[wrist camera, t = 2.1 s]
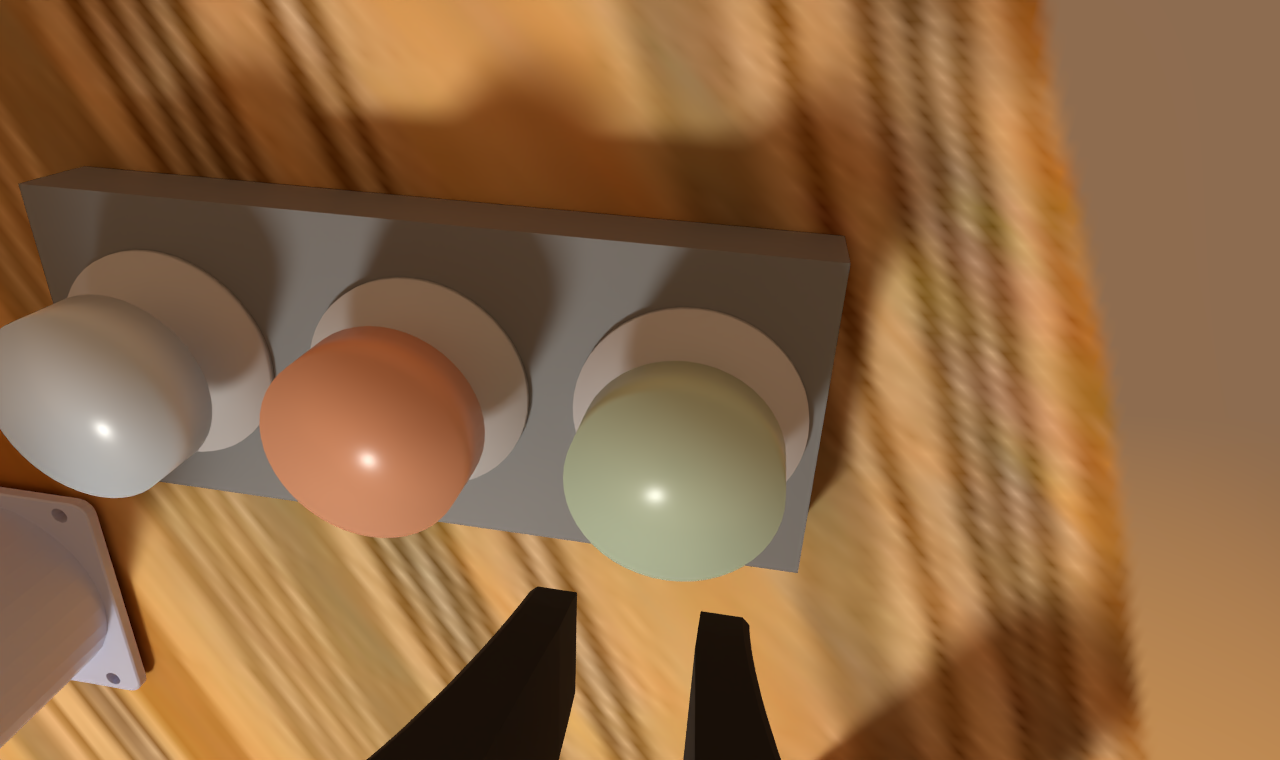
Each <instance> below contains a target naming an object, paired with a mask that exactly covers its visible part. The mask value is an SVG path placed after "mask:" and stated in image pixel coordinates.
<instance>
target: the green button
mask: <svg viewBox="0 0 1280 760" xmlns="http://www.w3.org/2000/svg"><path fill="white" fill-rule="evenodd" d="M563 486H564V493H565V498H566V502H567V505H568V508H569V510H570V513H571V515H572V517H573V519H574V521H575V523H576V524H577V526H578V527H579V529H580V530H581V532H582V533H583V534H584V536H585V537H586V538H587V539H588V540H589V541H590V542H591V543H592V544H593V545H594V546H595V547H596V548H597V549H598V550H599V551H600V552H602V553H603V554H604V555H605V556H607V557H608V558H610V559H611V560H613V561H614V562H616V563H618V564H620V565H621V566H623V567H625V568H627V569H629V570H632V571H634V572H636V573H639V574H642V575H645V576H649V577H652V578H657V579H662V580H669V581H699V580H707V579H711V578H715V577H720V576H722V575H725V574H728V573H731V572H733V571H735V570H737V569H739V568H741V567H743V566H744V565H746V564H747V563H749V562H750V561H752V560H753V559H755V558H756V557H757V556H758V555H759V554H760V553H761V552H762V551H763V550H764V549H765V548H766V547H767V546H768V544H769V543H770V542H771V541H772V539H773V537H774V536H775V534H776V532H777V531H778V528H779V526H780V524H781V521H782V518H783V514H784V510H785V501H786V448H785V442H784V438H783V433H782V431H781V428H780V426H779V423H778V421H777V419H776V417H775V416H774V414H773V412H772V410H771V409H770V408H769V406H768V405H767V404H766V403H765V401H764V400H763V399H762V398H761V397H760V396H759V395H758V394H757V393H756V392H755V391H754V390H753V389H752V388H750V387H749V386H748V385H747V384H745V383H744V382H743V381H741V380H739V379H738V378H736V377H734V376H733V375H731V374H729V373H727V372H724V371H722V370H720V369H717V368H715V367H711V366H708V365H704V364H700V363H694V362H689V361H662V362H655V363H650V364H645V365H642V366H639V367H636V368H633V369H631V370H629V371H627V372H625V373H623V374H621V375H619V376H618V377H616V378H615V379H613V380H612V381H610V382H609V383H608V384H607V385H606V386H605V387H604V388H603V389H601V391H600V392H599V393H598V394H597V395H596V397H595V398H594V399H593V401H592V402H591V404H590V405H589V407H588V409H587V411H586V413H585V415H584V417H583V419H582V421H581V424H580V426H579V428H578V430H577V432H576V434H575V436H574V438H573V441H572V443H571V445H570V447H569V450H568V452H567V455H566V459H565V463H564V471H563Z"/></svg>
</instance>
